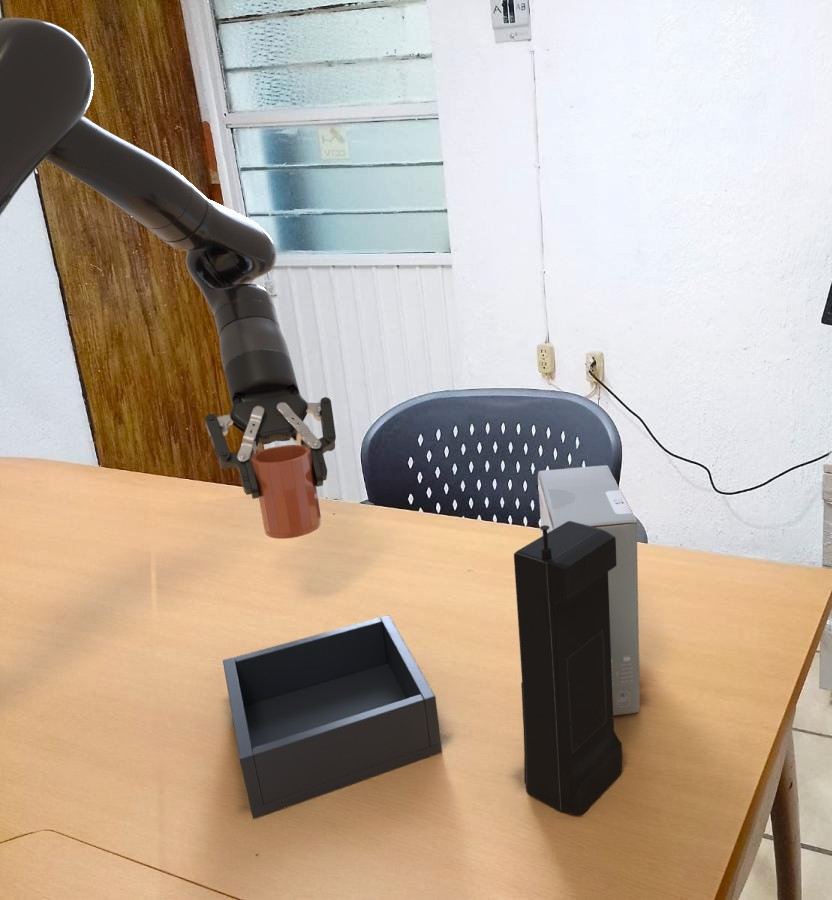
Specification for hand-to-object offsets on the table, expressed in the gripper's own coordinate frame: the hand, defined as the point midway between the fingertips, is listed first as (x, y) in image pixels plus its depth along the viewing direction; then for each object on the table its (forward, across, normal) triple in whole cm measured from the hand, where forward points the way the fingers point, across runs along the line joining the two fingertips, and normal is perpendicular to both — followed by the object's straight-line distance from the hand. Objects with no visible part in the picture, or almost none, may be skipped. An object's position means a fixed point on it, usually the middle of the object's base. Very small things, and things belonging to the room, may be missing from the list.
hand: (288, 488), depth 92 cm
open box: (+28, -2, -5) cm, 28 cm away
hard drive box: (+31, +23, -8) cm, 39 cm away
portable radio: (+40, +15, -17) cm, 46 cm away
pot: (+3, 0, +5) cm, 6 cm away
